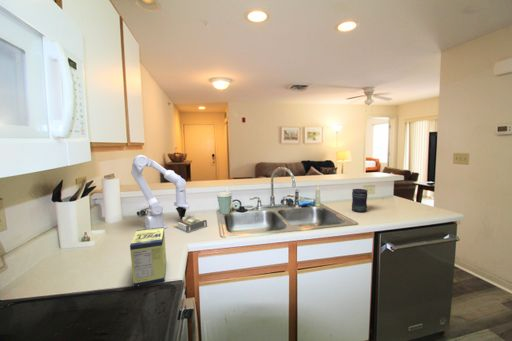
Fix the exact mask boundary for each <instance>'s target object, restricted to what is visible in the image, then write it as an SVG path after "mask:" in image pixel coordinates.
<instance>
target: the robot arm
mask: <svg viewBox="0 0 512 341" xmlns="http://www.w3.org/2000/svg"><path fill="white" fill-rule="evenodd" d="M131 164H132V165H131V176H132V178H133V179H134V181H135V182H136V185H137V186H138V188H139V190H140V191H141V193H142V194H143V196H144V197H145V199H146V201H147V203H148V205H149V206H148V208H149V210H150V212H149V215H145V218H144V220H145V222H144V223H145V228H144V229H152V228H160V227H164V229H167V228H168V227H167V226H166V225H165V222H164V221H165V220H164V207H163V205H162V204H161V203H160V202H159V201H158V200H157V198H156V197H155V194H154V193H153V191H152V189H151V188H150V186H149V185H148V183H147V181H146V179H145V177H144V176H143V171H144V169H145V167H148V168H153V169H155V170H156V171H158V172H159V173H160V174H162V175H163V178H164V179H166V181H168V182H170V183H172V184H173V185H174V186H175V201H174V202H173V206H175V210H176V212H177V214H178V216H179V219H180V220H182V218H183V217H186V213H187V212H186V211H187V210H190V205H188V204H189V203H188V202H187V196H186V193H187V192H186V185H187V182H186V179H184V178H182V177H181V175H179V174H177V173H175V171H174V170H171V169H166V168H164V166H162V165H160V164H159V163H158V162H156V161H155V160H154V159H152V158H149V157H147V156H145V155H143V154H138V155H136V156H135V157H134V158H133V160H132V163H131Z"/></svg>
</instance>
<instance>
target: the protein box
mask: <svg viewBox="0 0 512 341" xmlns="http://www.w3.org/2000/svg"><path fill="white" fill-rule="evenodd" d="M165 238H166V237H165V228H164V227H160V228H152V229H145V228H144V229H138V230H136V232H135V234H134V237H133V238H132V240H131V242H130V245H129V249H130V250H129V251H130V258H131V260H130V261H131V271H132V272H131V273H132V274H131V275H132V281H133V283H132V284H133V287H134V286H137V287H139V286H138V285H142V286H146V285H145V284H147V285H152V284H151V283H153V284H157V283H163V282H165V280H166V271H167V250H166V239H165Z"/></svg>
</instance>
